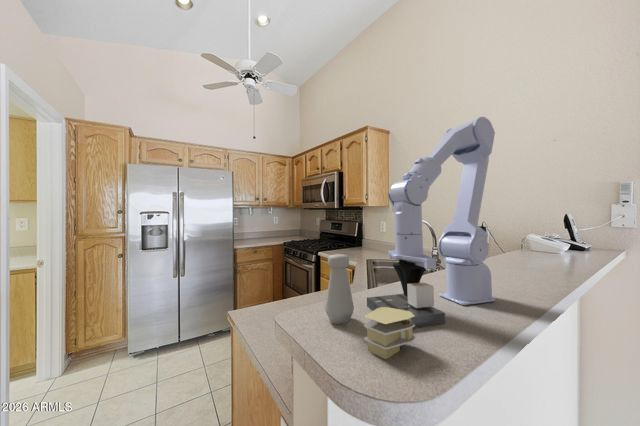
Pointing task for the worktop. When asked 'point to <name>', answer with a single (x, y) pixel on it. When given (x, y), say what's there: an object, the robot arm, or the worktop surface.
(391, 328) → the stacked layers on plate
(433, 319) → the console
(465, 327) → the worktop surface
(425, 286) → the white striped block
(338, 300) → the salt shaker
